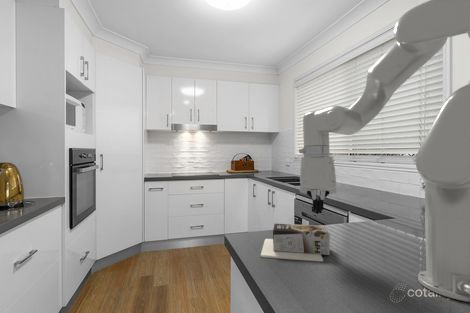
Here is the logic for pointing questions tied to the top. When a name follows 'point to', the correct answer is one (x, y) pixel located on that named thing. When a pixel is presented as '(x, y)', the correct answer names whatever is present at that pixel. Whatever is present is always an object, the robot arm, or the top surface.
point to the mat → (287, 253)
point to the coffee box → (301, 239)
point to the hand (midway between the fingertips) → (318, 212)
